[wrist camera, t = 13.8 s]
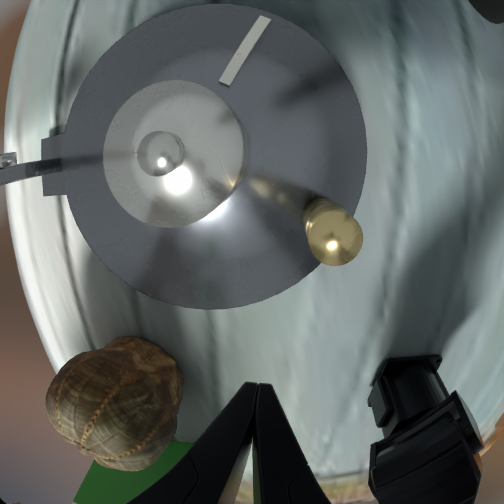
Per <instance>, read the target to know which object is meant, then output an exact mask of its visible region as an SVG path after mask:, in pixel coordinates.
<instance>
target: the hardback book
mask: <svg viewBox="0 0 504 504" xmlns="http://www.w3.org/2000/svg"><path fill="white" fill-rule="evenodd" d="M192 446H193V444H190V443H183V442H177V441H171V442H170V443H169V444H168V446H167V448H166V449H165V450H164V451H163V452H162V454H161V455H160V456H159V458H158V459H157V460H156V461H155V463H153V464H152V465H151V466H149V467H146V468H144V470H139V471H124V470H119V469H115V468H107V467H104V466H102V465H100V464H99V463H97V462H96V460H95V459H94V461H93V463H92V465H91V467H90V469H89V471H88V473H87V475H86V476H85V478H84V481H83V482H82V484H81V486H80V488H79V490H78V492H77V494H76V496H75V498H74V501H73V502H72V504H125V503H127V502H128V501H130V500H131V499H133V498H134V497H136V496H137V495H138V494H140V493H141V492H143V491H144V490H145V489H147V488H148V487H149V486H151V485H152V484H153V483H155V482H156V481H157V480H158V479H160V478H161V477H162V476H163V475H164V474H166V473H167V472H168V471H169V470H170V469H171V468H172V467H173V466H174V465H175V464H176V463H177V462H178V461H179V460H180V459H181V458H182V457H183V455H184V454H185V453H187V451H188V450H189V449H190V448H191V447H192Z"/></svg>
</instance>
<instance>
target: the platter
mask: <svg viewBox="0 0 504 504" xmlns="http://www.w3.org/2000/svg"><path fill="white" fill-rule="evenodd" d="M169 80H183V81H189V82H193V83H196V84H199V85H202V86H204V87H206V88H208V89H209V90H211V91H212V92H214V93H215V94H216V95H218V96H219V97H220V98H221V99H222V100H223V101H224V102H226V103H227V104H228V105H229V106H230V107H231V108H232V109H233V110H234V111H235V112H236V113H237V114H238V115H239V117H240V118H241V120H242V121H243V123H244V125H245V127H246V130H247V132H248V136H249V141H250V160H249V166H248V169H247V172H246V174H245V177H244V179H243V181H242V182H241V184H240V186H239V187H238V188H237V190H236V191H235V192H234V193H233V194H232V195H231V196H230V197H229V198H228V199H227V200H226V201H224V202H223V203H222V204H221V205H220V206H219V207H217V208H216V209H215V210H214V211H213V212H211V213H210V214H209V215H207V216H206V217H204V218H202V219H201V220H199V221H197V222H194V223H192V224H189V225H186V226H181V227H173V228H165V227H157V226H152V225H149V224H146V223H144V222H142V221H140V220H138V219H136V218H135V217H133V216H132V215H130V214H129V213H128V212H127V211H126V210H125V209H123V207H122V206H121V205H120V204H119V203H118V201H117V200H116V199H115V197H114V196H113V194H112V192H111V190H110V188H109V185H108V183H107V180H106V176H105V172H104V164H103V150H104V143H105V138H106V134H107V131H108V129H109V126H110V124H111V122H112V120H113V118H114V116H115V115H116V113H117V112H118V110H119V109H120V108H121V107H122V105H123V104H124V103H125V102H126V101H127V100H128V99H129V98H130V97H132V96H133V95H134V94H135V93H137V92H138V91H140V90H142V89H143V88H145V87H147V86H150V85H152V84H155V83H159V82H162V81H169ZM62 162H63V178H64V184H65V191H66V195H67V199H68V202H69V206H70V209H71V212H72V214H73V217H74V219H75V221H76V224H77V226H78V228H79V230H80V232H81V233H82V235H83V237H84V239H85V240H86V242H87V243H88V245H89V246H90V248H91V249H92V250H93V252H94V253H95V254H96V256H97V257H98V258H99V259H100V260H101V261H102V262H103V263H104V264H105V266H106V267H107V268H108V269H110V270H111V271H112V272H113V273H114V274H115V275H116V276H118V277H119V278H120V279H121V280H123V281H124V282H126V283H127V284H129V285H130V286H132V287H133V288H135V289H136V290H138V291H140V292H142V293H144V294H146V295H148V296H150V297H152V298H155V299H158V300H160V301H163V302H166V303H169V304H173V305H177V306H181V307H186V308H195V309H228V308H235V307H241V306H245V305H249V304H253V303H256V302H260V301H263V300H265V299H267V298H270V297H272V296H274V295H277V294H279V293H281V292H283V291H284V290H286V289H288V288H290V287H291V286H293V285H295V284H296V283H298V282H299V281H300V280H302V279H303V278H304V277H306V276H307V275H308V274H309V273H311V272H312V271H313V270H314V269H315V268H316V267H317V266H318V265H319V264H320V263H321V262H322V263H324V264H326V265H330V266H339V265H343V264H346V263H348V262H350V261H351V260H353V259H354V258H355V257H356V256H357V254H358V253H359V251H360V249H361V247H362V243H363V233H362V229H361V227H360V225H359V223H358V222H357V221H356V220H355V219H354V218H353V216H354V213H355V210H356V208H357V205H358V202H359V199H360V197H361V193H362V188H363V184H364V179H365V174H366V162H367V142H366V131H365V124H364V120H363V116H362V112H361V108H360V104H359V102H358V99H357V97H356V94H355V92H354V90H353V87H352V85H351V83H350V81H349V80H348V78H347V76H346V75H345V73H344V71H343V70H342V68H341V67H340V65H339V64H338V62H337V61H336V60H335V59H334V58H333V56H332V55H331V54H330V53H329V52H328V51H327V49H326V48H325V47H324V46H323V45H322V44H320V43H319V42H318V41H317V40H316V39H315V38H314V37H312V36H311V35H310V34H309V33H308V32H306V31H304V30H303V29H301V28H300V27H298V26H297V25H295V24H294V23H292V22H290V21H288V20H286V19H284V18H282V17H280V16H277V15H275V14H273V13H270V12H267V11H264V10H260V9H257V8H253V7H249V6H242V5H235V4H202V5H195V6H189V7H184V8H180V9H177V10H173V11H170V12H167V13H164V14H162V15H159V16H157V17H155V18H153V19H150V20H148V21H146V22H145V23H143V24H141V25H140V26H138V27H136V28H134V29H133V30H131V31H130V32H129V33H127V34H126V35H125V36H123V37H122V38H121V39H119V40H118V41H117V42H116V43H115V44H114V45H113V46H112V47H111V48H110V49H109V50H108V51H107V52H106V53H105V54H104V55H103V56H102V57H101V58H100V59H99V60H98V62H97V63H96V64H95V66H94V67H93V68H92V69H91V71H90V72H89V74H88V75H87V77H86V79H85V80H84V82H83V84H82V85H81V87H80V89H79V91H78V93H77V96H76V98H75V100H74V102H73V105H72V108H71V111H70V114H69V117H68V120H67V125H66V130H65V135H64V142H63V154H62Z"/></svg>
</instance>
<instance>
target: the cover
mask: <svg viewBox="0 0 504 504" xmlns="http://www.w3.org/2000/svg"><path fill="white" fill-rule="evenodd" d="M249 160H250V141H249V136H248V132H247V130H246V127H245V125H244V123H243V121H242V120H241V118H240V117H239V115H238V114H237V113H236V112H235V111H234V110H233V109H232V108H231V107H230V106H229V105H228V104H227V103H226V102H224V101H223V100H222V99H221V98H220V97H219V96H218V95H216V94H215V93H214V92H212V91H211V90H209V89H208V88H206V87H204V86H202V85H199V84H196V83H193V82H189V81H183V80H169V81H162V82H159V83H155V84H152V85H150V86H147V87H145V88H143V89H142V90H140V91H138V92H137V93H135V94H134V95H133V96H132V97H130V98H129V99H128V100H127V101H126V102H125V103H124V104H123V105H122V107H121V108H120V109H119V110H118V112H117V113H116V115H115V116H114V118H113V120H112V122H111V124H110V126H109V129H108V131H107V134H106V138H105V143H104V150H103V164H104V172H105V176H106V180H107V183H108V185H109V188H110V190H111V192H112V194H113V196H114V197H115V199H116V200H117V201H118V203H119V204H120V205H121V206H122V207H123V209H125V210H126V211H127V212H128V213H129V214H130V215H132V216H133V217H135V218H136V219H138V220H140V221H142V222H144V223H146V224H149V225H152V226H157V227H165V228H173V227H181V226H186V225H189V224H192V223H194V222H197V221H199V220H201V219H202V218H204V217H206V216H207V215H209V214H210V213H211V212H213V211H214V210H215V209H216V208H217V207H219V206H220V205H221V204H222V203H223V202H224V201H226V200H227V199H228V198H229V197H230V196H231V195H232V194H233V193H234V192H235V191H236V190H237V188H238V187H239V186H240V184H241V182H242V181H243V179H244V177H245V174H246V172H247V169H248V166H249Z"/></svg>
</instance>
